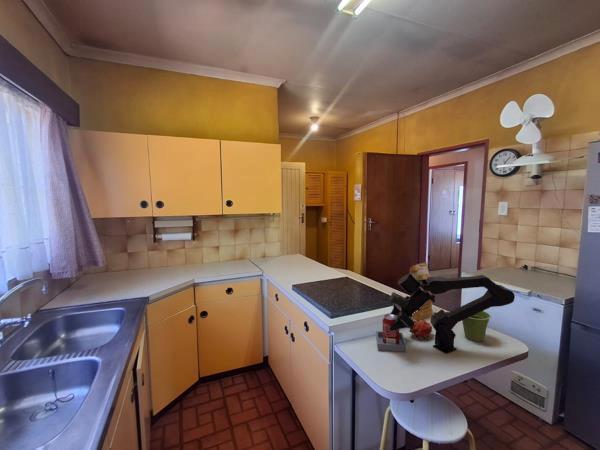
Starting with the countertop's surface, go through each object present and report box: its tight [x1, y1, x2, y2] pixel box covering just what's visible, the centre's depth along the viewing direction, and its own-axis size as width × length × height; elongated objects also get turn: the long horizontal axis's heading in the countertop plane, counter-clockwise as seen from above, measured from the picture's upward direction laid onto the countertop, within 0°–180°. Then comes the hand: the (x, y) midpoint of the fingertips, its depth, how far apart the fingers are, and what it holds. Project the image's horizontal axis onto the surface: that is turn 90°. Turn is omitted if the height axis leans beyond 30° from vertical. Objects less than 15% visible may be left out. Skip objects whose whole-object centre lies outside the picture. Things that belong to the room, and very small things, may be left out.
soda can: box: [382, 313, 400, 344], centre depth 118 cm, size 7×7×12 cm
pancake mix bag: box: [408, 261, 434, 321], centre depth 146 cm, size 7×19×28 cm, turn 123°
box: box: [375, 330, 407, 354], centre depth 118 cm, size 11×11×3 cm
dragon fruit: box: [409, 319, 433, 340], centre depth 124 cm, size 8×8×12 cm
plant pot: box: [461, 310, 492, 342], centre depth 121 cm, size 12×12×11 cm
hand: (388, 324), depth 118 cm, fingers open, 9 cm apart
